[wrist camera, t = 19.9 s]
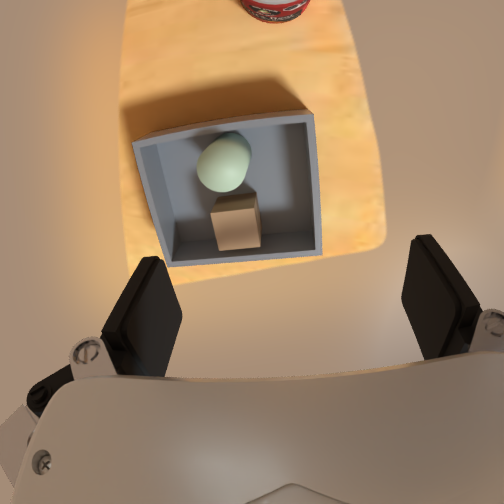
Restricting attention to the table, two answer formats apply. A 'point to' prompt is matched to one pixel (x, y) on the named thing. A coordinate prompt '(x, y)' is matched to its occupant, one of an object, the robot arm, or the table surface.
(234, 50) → the table surface
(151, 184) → the tote
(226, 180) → the cylinder
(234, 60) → the table surface
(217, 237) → the cube
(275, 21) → the canned food
